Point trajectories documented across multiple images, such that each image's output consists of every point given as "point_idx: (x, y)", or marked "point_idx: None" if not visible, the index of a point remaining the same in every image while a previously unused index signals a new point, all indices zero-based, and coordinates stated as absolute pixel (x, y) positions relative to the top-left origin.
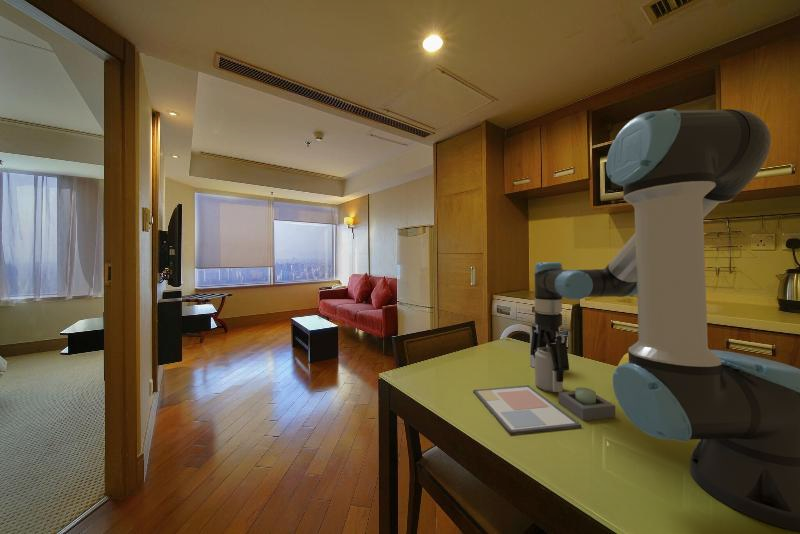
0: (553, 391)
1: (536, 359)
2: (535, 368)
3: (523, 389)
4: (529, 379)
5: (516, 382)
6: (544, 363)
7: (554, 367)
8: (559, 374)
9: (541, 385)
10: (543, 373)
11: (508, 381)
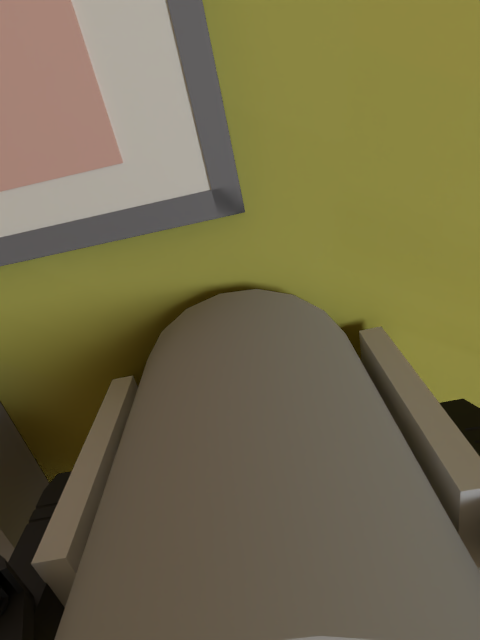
0: (122, 378)
1: (260, 518)
2: (293, 381)
3: (138, 115)
4: (428, 282)
5: (377, 116)
6: (93, 564)
7: (18, 610)
8: (13, 557)
9: (180, 322)
10: (142, 418)
11: (418, 14)
